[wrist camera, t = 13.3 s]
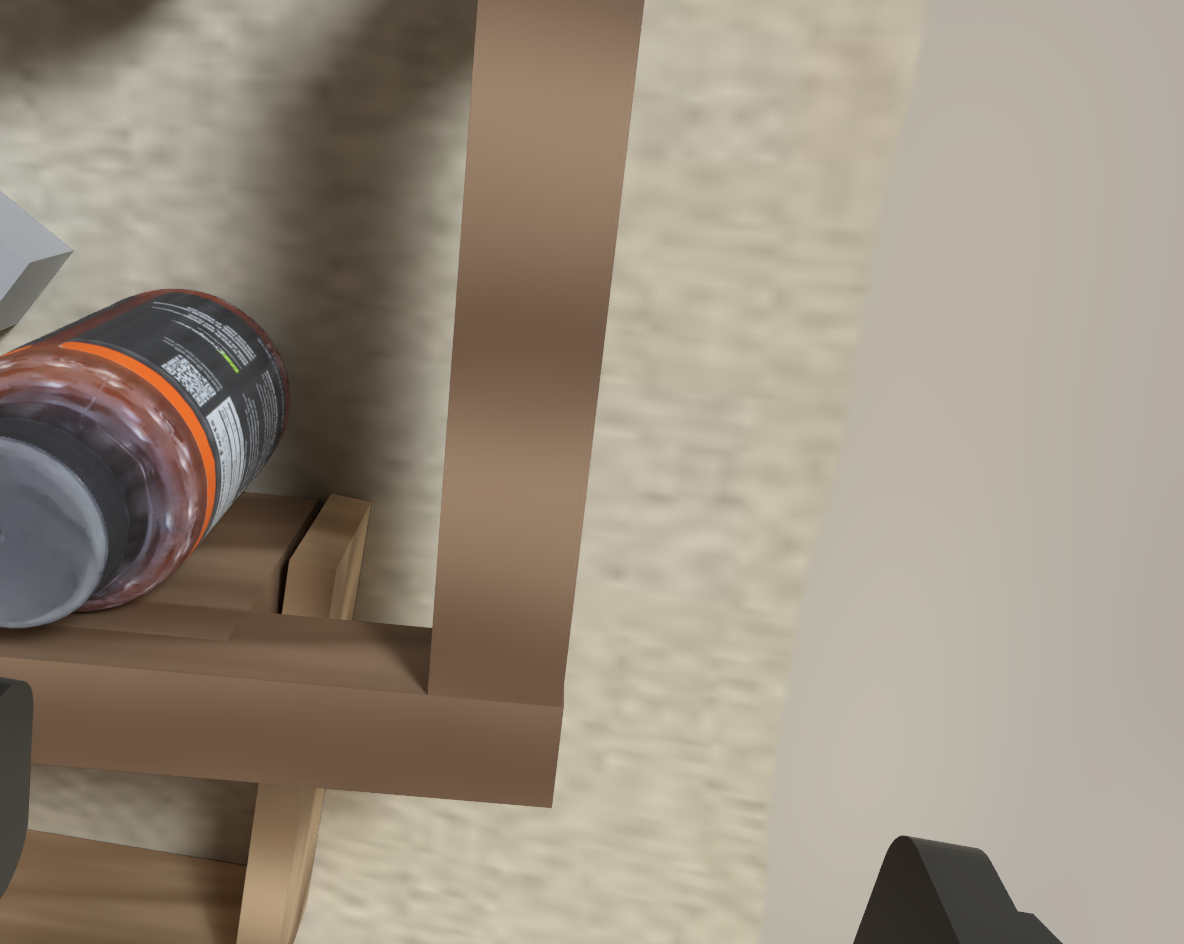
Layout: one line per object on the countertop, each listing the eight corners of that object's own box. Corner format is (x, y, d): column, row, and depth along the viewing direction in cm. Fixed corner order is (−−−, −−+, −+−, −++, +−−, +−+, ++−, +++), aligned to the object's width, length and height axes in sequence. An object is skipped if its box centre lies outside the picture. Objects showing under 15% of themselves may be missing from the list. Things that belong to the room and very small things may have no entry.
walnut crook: (7, -262, 26) (-347, -493, 16) (645, -178, 27) (688, -347, 17) (49, 550, 33) (-182, 745, 23) (558, 599, 33) (551, 808, 23)
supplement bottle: (67, 446, 32) (-194, 620, 21) (113, 252, 30) (-146, 334, 19) (266, 512, 32) (114, 713, 22) (322, 327, 31) (186, 446, 20)
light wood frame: (-55, 418, 31) (-168, 474, 26) (371, 501, 32) (336, 569, 27) (-67, 844, 36) (-164, 956, 31) (306, 904, 37) (266, 1022, 32)
